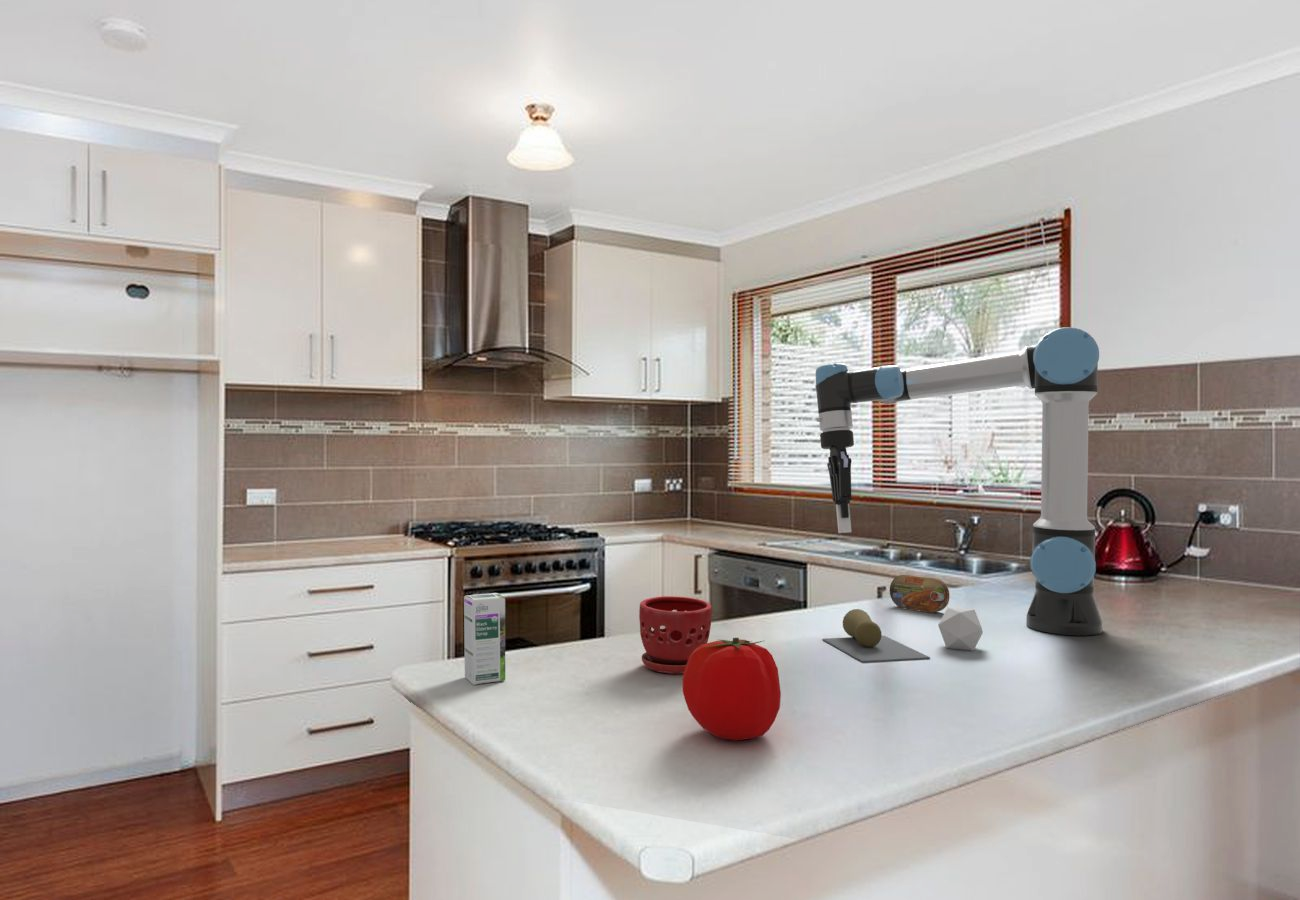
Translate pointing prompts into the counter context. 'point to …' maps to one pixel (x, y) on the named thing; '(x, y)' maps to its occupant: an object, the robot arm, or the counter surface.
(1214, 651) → the counter surface
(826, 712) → the counter surface
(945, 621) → the die
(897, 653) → the mat
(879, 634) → the cork
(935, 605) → the tin
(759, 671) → the tomato
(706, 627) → the plant pot
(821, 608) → the counter surface
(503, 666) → the syrup box
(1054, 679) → the counter surface
